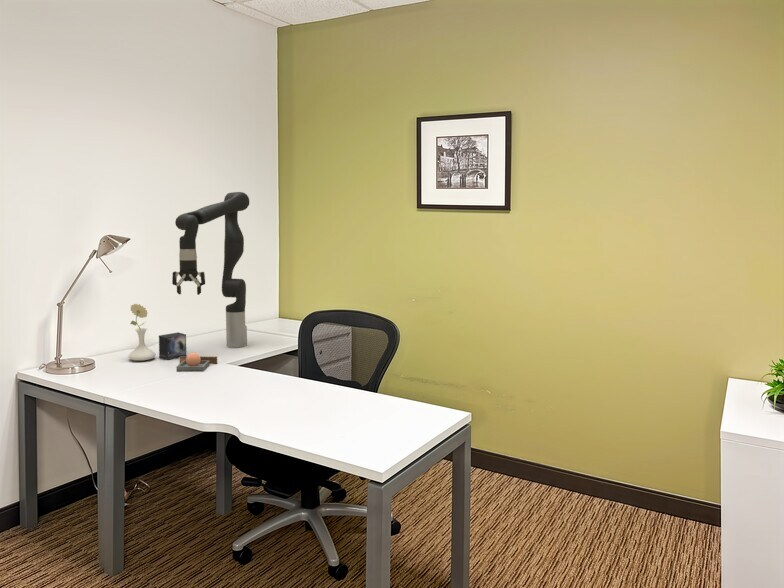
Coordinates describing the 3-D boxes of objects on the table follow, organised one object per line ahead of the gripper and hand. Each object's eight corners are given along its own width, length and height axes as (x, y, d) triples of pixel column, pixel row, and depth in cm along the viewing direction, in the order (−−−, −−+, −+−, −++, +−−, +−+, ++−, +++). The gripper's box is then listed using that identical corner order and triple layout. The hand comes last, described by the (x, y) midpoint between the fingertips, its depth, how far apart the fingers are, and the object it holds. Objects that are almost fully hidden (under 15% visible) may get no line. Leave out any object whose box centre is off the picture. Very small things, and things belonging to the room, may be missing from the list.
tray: (184, 364, 277) (183, 360, 276) (209, 364, 277) (209, 360, 277) (176, 371, 266) (176, 366, 266) (203, 371, 266) (203, 366, 266)
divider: (180, 363, 280) (180, 356, 279) (217, 363, 280) (217, 356, 280) (179, 363, 279) (179, 357, 278) (216, 363, 279) (216, 357, 279)
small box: (167, 360, 284) (166, 337, 283) (158, 358, 288) (157, 335, 287) (187, 356, 293) (186, 333, 291) (178, 354, 297) (178, 331, 295)
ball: (193, 364, 275) (193, 350, 274) (203, 366, 273) (203, 352, 272) (182, 367, 270) (182, 353, 269) (193, 369, 267) (192, 355, 266)
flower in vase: (161, 359, 287) (159, 303, 283) (138, 363, 278) (135, 306, 274) (144, 354, 294) (142, 301, 291) (121, 359, 285) (118, 304, 282)
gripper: (169, 259, 286) (170, 295, 288) (201, 259, 287) (202, 295, 289) (174, 258, 294) (175, 293, 296) (206, 258, 294) (207, 293, 296)
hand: (189, 294), depth 292 cm, fingers open, 8 cm apart
